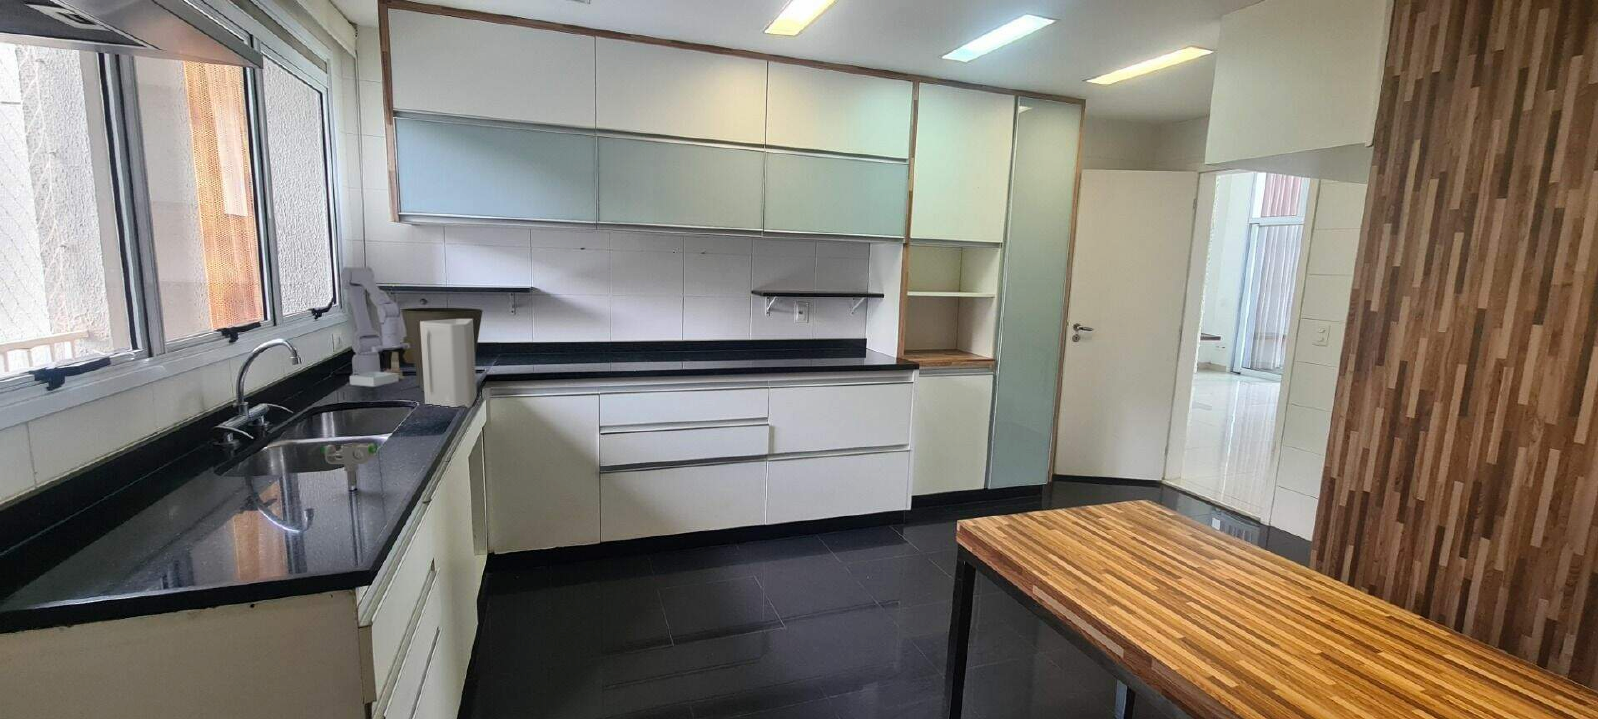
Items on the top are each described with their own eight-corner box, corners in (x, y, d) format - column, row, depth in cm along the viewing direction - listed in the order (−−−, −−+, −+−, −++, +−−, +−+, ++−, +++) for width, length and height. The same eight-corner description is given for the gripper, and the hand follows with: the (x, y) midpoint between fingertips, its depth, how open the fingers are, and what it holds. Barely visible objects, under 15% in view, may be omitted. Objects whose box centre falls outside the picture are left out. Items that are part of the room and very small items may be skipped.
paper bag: (430, 397, 230) (425, 319, 226) (477, 395, 235) (473, 318, 231) (420, 410, 212) (414, 324, 208) (470, 407, 217) (466, 324, 213)
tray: (350, 386, 245) (349, 376, 244) (375, 381, 255) (375, 371, 255) (374, 388, 242) (373, 378, 241) (398, 383, 253) (398, 373, 252)
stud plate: (376, 380, 256) (376, 373, 256) (394, 377, 264) (393, 370, 264) (393, 382, 254) (393, 375, 254) (410, 378, 262) (409, 371, 262)
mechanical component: (332, 487, 142) (328, 443, 141) (381, 487, 143) (378, 443, 142) (323, 492, 139) (319, 447, 138) (374, 491, 140) (370, 447, 139)
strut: (384, 377, 258) (382, 352, 256) (394, 375, 262) (393, 350, 260) (392, 378, 256) (390, 353, 255) (402, 376, 260) (400, 351, 259)
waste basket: (488, 382, 260) (485, 307, 255) (484, 392, 241) (480, 311, 237) (411, 385, 250) (406, 307, 246) (400, 396, 232) (394, 311, 227)
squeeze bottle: (427, 362, 301) (425, 323, 298) (412, 364, 294) (409, 325, 291) (414, 361, 304) (411, 322, 301) (398, 363, 296) (396, 324, 293)
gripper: (379, 336, 248) (382, 371, 250) (414, 332, 261) (416, 366, 264) (367, 335, 251) (369, 369, 253) (402, 331, 264) (404, 364, 266)
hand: (392, 367), depth 258 cm, fingers closed on strut, 3 cm apart
